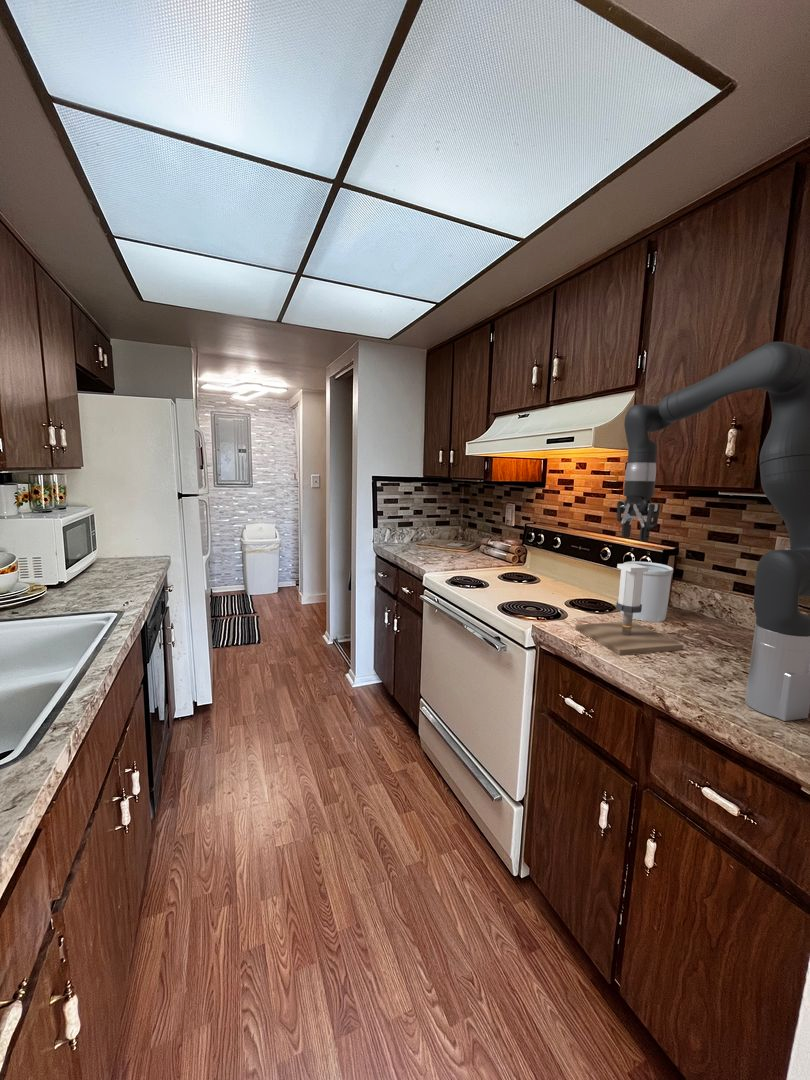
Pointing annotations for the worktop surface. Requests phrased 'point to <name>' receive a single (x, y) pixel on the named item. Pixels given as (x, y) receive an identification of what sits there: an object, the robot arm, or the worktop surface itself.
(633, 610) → the o ring
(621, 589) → the sleeve
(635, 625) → the pipe stand
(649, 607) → the utensil holder
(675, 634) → the worktop surface
